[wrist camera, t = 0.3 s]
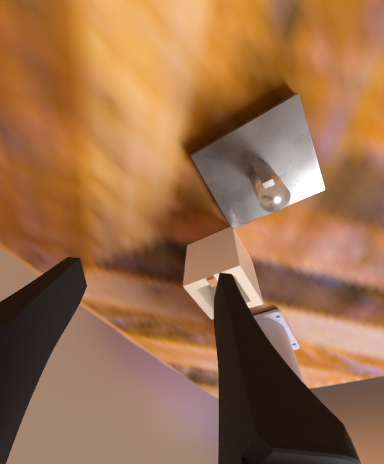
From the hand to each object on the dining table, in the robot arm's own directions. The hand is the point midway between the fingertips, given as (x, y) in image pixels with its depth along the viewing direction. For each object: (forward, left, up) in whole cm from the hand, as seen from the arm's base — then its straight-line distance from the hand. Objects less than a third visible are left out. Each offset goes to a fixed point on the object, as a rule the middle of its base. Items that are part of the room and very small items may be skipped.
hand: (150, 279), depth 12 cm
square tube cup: (-8, -1, -10) cm, 13 cm away
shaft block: (-1, -7, -10) cm, 12 cm away
